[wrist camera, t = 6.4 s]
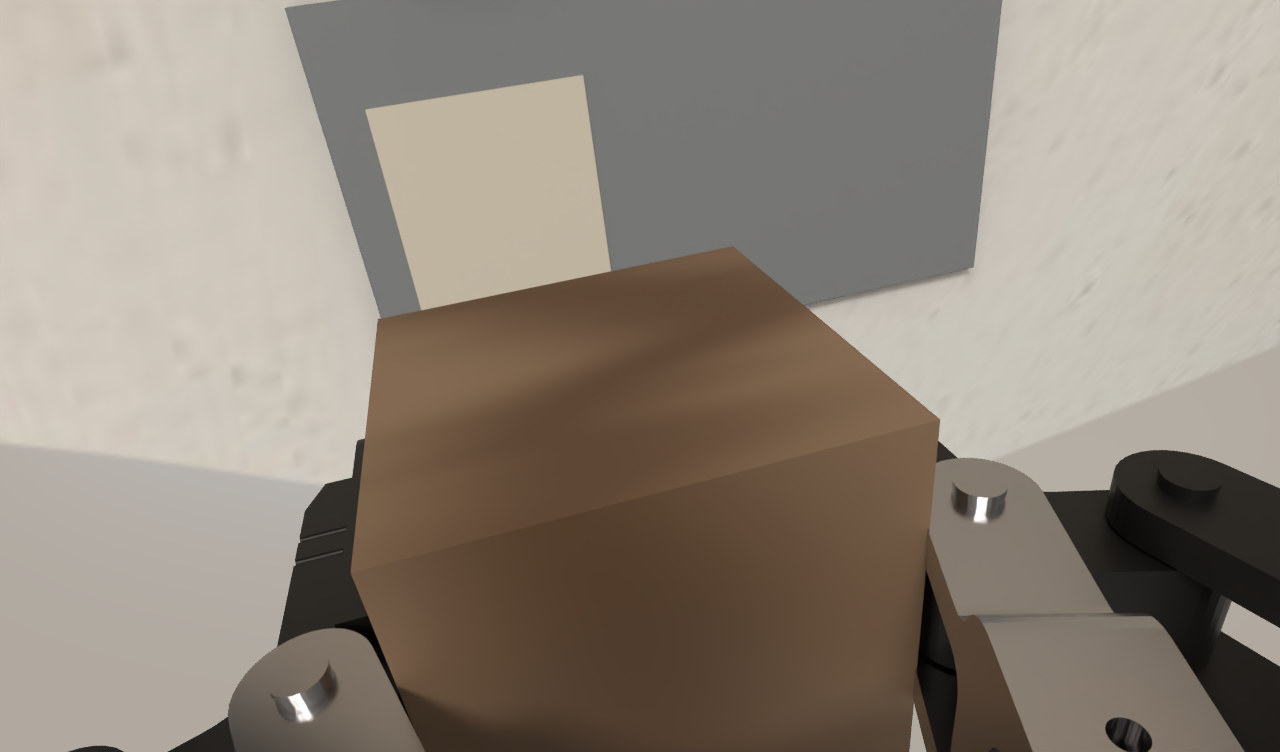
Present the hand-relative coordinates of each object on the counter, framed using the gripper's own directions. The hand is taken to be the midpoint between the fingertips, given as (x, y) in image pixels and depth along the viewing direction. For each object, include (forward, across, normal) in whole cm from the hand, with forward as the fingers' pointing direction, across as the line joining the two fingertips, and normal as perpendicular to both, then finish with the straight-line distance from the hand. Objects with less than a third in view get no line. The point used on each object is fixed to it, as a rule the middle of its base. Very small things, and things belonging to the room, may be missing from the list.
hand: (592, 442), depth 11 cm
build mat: (+15, -6, 0) cm, 17 cm away
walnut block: (0, 0, 0) cm, 0 cm away
